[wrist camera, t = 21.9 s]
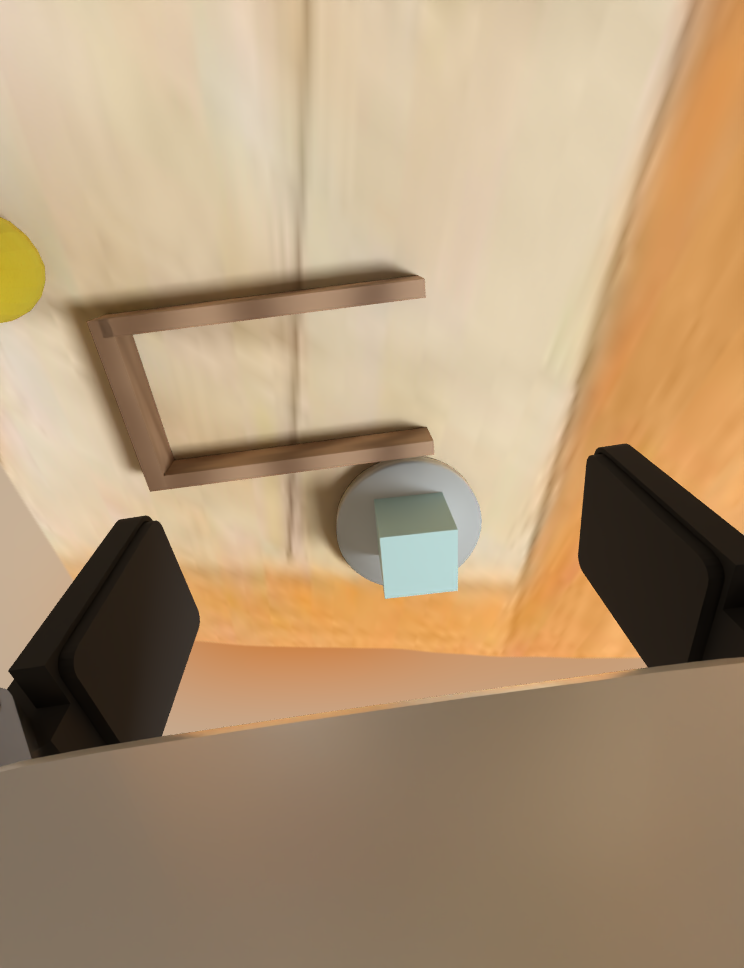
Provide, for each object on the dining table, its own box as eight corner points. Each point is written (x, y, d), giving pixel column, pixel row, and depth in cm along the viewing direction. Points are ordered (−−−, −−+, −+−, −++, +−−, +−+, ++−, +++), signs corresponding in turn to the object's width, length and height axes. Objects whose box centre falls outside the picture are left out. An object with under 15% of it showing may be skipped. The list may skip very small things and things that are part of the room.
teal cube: (442, 492, 35) (457, 529, 31) (442, 548, 37) (457, 590, 33) (373, 499, 35) (379, 537, 31) (378, 555, 37) (385, 598, 33)
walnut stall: (417, 275, 30) (424, 278, 27) (427, 440, 35) (433, 454, 32) (105, 314, 29) (86, 321, 27) (161, 474, 34) (150, 491, 32)
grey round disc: (475, 446, 35) (481, 454, 34) (476, 566, 40) (481, 577, 39) (326, 466, 35) (326, 475, 34) (346, 584, 40) (346, 596, 39)
